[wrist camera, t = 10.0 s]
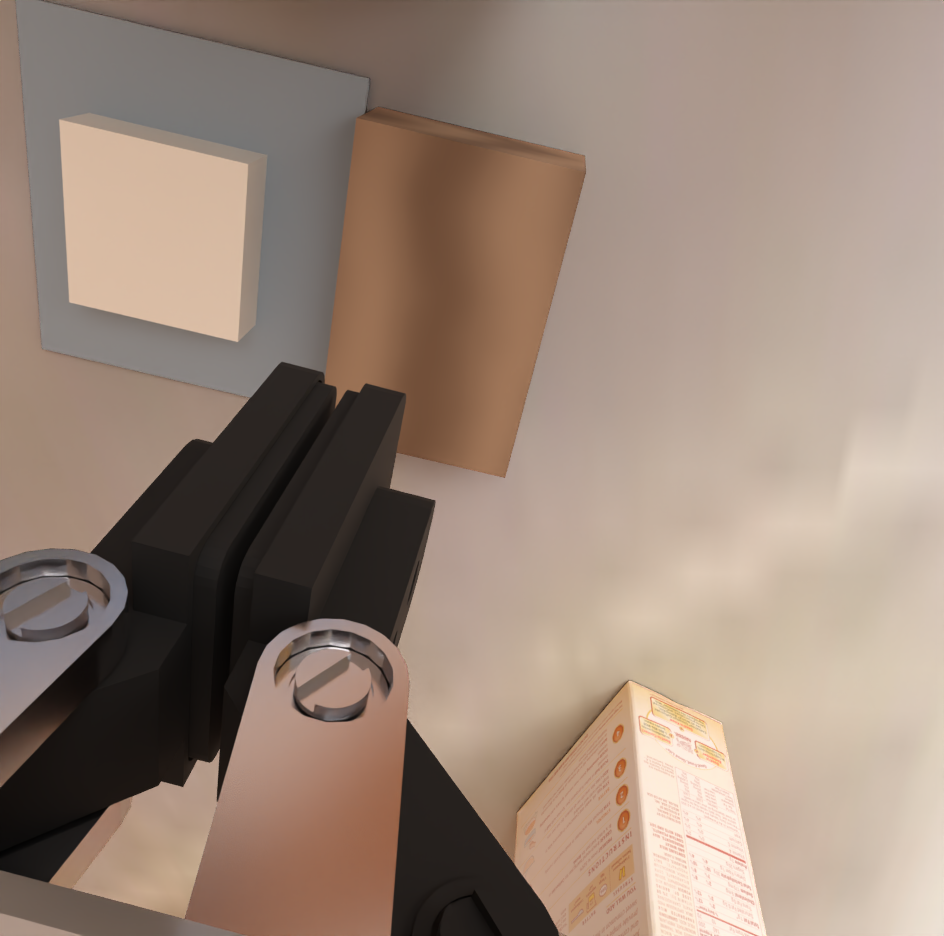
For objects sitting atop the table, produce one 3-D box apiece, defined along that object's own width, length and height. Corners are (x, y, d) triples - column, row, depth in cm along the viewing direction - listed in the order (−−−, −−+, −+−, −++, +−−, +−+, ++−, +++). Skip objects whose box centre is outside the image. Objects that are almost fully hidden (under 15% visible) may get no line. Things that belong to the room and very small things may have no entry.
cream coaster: (59, 119, 33) (89, 113, 35) (69, 302, 37) (95, 286, 39) (248, 164, 33) (267, 154, 35) (237, 341, 37) (255, 324, 39)
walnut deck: (584, 155, 34) (585, 172, 31) (510, 438, 41) (504, 477, 38) (378, 106, 34) (356, 117, 31) (339, 398, 41) (318, 434, 38)
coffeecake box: (602, 849, 57) (614, 1206, 40) (512, 811, 56) (485, 1160, 39) (728, 721, 49) (808, 1091, 32) (627, 675, 48) (656, 1032, 32)
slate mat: (370, 78, 34) (368, 79, 33) (328, 413, 42) (326, 415, 41) (19, -5, 34) (15, -5, 33) (45, 346, 42) (41, 348, 41)
